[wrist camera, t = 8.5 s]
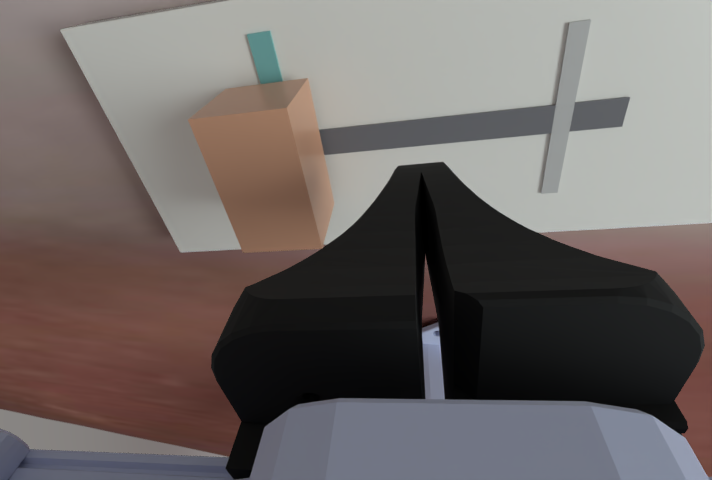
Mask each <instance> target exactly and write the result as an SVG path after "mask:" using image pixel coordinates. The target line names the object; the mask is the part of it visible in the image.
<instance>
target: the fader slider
mask: <svg viewBox="0 0 712 480" xmlns="http://www.w3.org/2000/svg"><path fill="white" fill-rule="evenodd" d="M188 122H189V124H190V126H191V129H192V131H193V134H194V136H195V138H196V141H197V143H198V146H199V148H200V150H201V153H202V155H203V158H204V160H205V162H206V165H207V167H208V170H209V172H210V174H211V177H212V179H213V182H214V184H215V186H216V189H217V191H218V194H219V196H220V198H221V201H222V203H223V206H224V208H225V211H226V213H227V215H228V218H229V220H230V223H231V225H232V227H233V230H234V232H235V235H236V237H237V239H238V242H239V244H240V247H241V249H242V251H243V253H251V252H270V251H288V250H307V249H322V248H323V245H324V241H325V237H326V233H327V230H328V226H329V222H330V218H331V215H332V211H333V207H334V199H333V194H332V189H331V185H330V180H329V175H328V170H327V166H326V161H325V156H324V151H323V147H322V142H321V137H320V132H319V128H318V123H317V118H316V113H315V109H314V104H313V99H312V94H311V90H310V85H309V80H308V78H305V79H297V80H289V81H282V82H274V83H266V84H259V85H251V86H244V87H236V88H228V89H225V90H224V91H222V92H221V93H220V94H219V95H217V96H216V97H215V98H214V99H213V100H211V101H210V102H209V103H208V104H206V105H205V106H204V107H203V108H201V109H200V110H199V111H198V112H197V113H195V114H194V115H193V116H192V117H190V118H189V119H188Z"/></svg>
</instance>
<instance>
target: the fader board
mask: <svg viewBox="0 0 712 480" xmlns="http://www.w3.org/2000/svg"><path fill="white" fill-rule="evenodd" d="M60 31H61V33H62V34H63V36H64V38H65V40H66V42H67V44H68V46H69V47H70V49H71V51H72V53H73V55H74V57H75V58H76V60H77V62H78V64H79V66H80V68H81V70H82V71H83V73H84V75H85V77H86V79H87V81H88V82H89V84H90V86H91V88H92V90H93V92H94V94H95V95H96V97H97V99H98V101H99V103H100V105H101V106H102V108H103V110H104V112H105V114H106V116H107V118H108V119H109V121H110V123H111V125H112V127H113V129H114V131H115V132H116V134H117V136H118V138H119V140H120V142H121V143H122V145H123V147H124V149H125V151H126V153H127V155H128V156H129V158H130V160H131V162H132V164H133V166H134V167H135V169H136V171H137V173H138V175H139V177H140V179H141V180H142V182H143V184H144V186H145V188H146V190H147V191H148V193H149V195H150V197H151V199H152V201H153V203H154V204H155V206H156V208H157V210H158V212H159V214H160V215H161V217H162V219H163V221H164V223H165V225H166V227H167V228H168V230H169V232H170V234H171V236H172V238H173V239H174V241H175V243H176V245H177V247H178V249H179V251H180V252H198V251H216V250H234V249H241V247H240V244H239V242H238V239H237V237H236V235H235V232H234V230H233V227H232V225H231V223H230V220H229V218H228V215H227V213H226V211H225V208H224V206H223V203H222V201H221V198H220V196H219V194H218V191H217V189H216V186H215V184H214V182H213V179H212V177H211V174H210V172H209V170H208V167H207V165H206V162H205V160H204V158H203V155H202V153H201V150H200V148H199V146H198V143H197V141H196V138H195V136H194V134H193V131H192V129H191V126H190V124H189V122H188V119H189V118H190V117H192V116H193V115H194V114H195V113H197V112H198V111H199V110H200V109H201V108H203V107H204V106H205V105H206V104H208V103H209V102H210V101H211V100H213V99H214V98H215V97H216V96H217V95H219V94H220V93H221V92H222V91H224V90H225V89H228V88H236V87H244V86H251V85H259V84H266V83H274V82H282V81H289V80H297V79H305V78H308V80H309V85H310V90H311V94H312V99H313V104H314V109H315V113H316V118H317V123H318V128H319V132H320V137H321V142H322V147H323V151H324V156H325V161H326V166H327V170H328V175H329V180H330V185H331V189H332V194H333V199H334V207H333V211H332V215H331V218H330V222H329V226H328V230H327V233H326V237H325V241H324V244H329V243H330V242H332V241H333V240H335V239H336V238H337V237H339V236H340V235H341V234H343V233H344V232H345V231H346V230H347V229H348V228H350V227H351V226H352V225H353V224H354V223H355V222H356V221H357V220H358V219H359V218H360V217H361V216H362V215H363V214H364V212H365V211H366V210H367V209H368V208H369V207H370V205H371V204H372V203H373V202H374V201H375V199H376V198H377V197H378V195H379V194H380V192H381V191H382V190H383V188H384V187H385V185H386V184H387V182H388V181H389V179H390V177H391V176H392V174H393V172H394V170H395V169H396V168H397V167H398V166H400V165H411V164H423V163H434V162H444V163H445V164H446V165H447V166H448V167H449V168H450V169H451V170H452V172H453V173H454V174H455V175H456V176H457V177H458V178H459V179H460V180H461V181H462V182H463V183H464V184H465V185H466V186H467V187H468V188H469V189H470V190H471V191H473V192H474V193H475V194H476V195H477V196H478V197H479V198H481V199H482V200H483V201H485V202H486V203H487V204H489V205H490V206H491V207H493V208H494V209H496V210H497V211H499V212H500V213H502V214H503V215H505V216H507V217H509V218H510V219H512V220H514V221H515V222H517V223H519V224H521V225H523V226H524V227H526V228H528V229H530V230H533V231H535V232H537V233H539V232H557V231H575V230H593V229H611V228H629V227H647V226H665V225H683V224H701V223H712V0H216V1H210V2H204V3H198V4H193V5H187V6H181V7H175V8H169V9H164V10H158V11H152V12H146V13H141V14H135V15H129V16H123V17H117V18H112V19H106V20H100V21H94V22H89V23H84V24H80V25H76V26H72V27H68V28H64V29H60Z"/></svg>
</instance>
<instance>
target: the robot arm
mask: <svg viewBox="0 0 712 480" xmlns="http://www.w3.org/2000/svg"><path fill="white" fill-rule="evenodd" d="M425 254H426V260H427V265H428V270H429V275H430V281H431V286H432V291H433V296H434V302H435V307H436V312H437V318H438V322H437V323H434V324H432V325H429V326H426V327H424V328H422V306H423V287H424V268H425ZM704 346H705V344H704V336H703V330H702V328H701V327H700V326H699V324H698V323H697V322H696V320H695V319H694V318H693V316H692V315H691V314H690V312H689V311H688V310H687V308H686V307H685V306H684V304H683V303H682V302H681V300H680V299H679V298H678V296H677V295H676V294H675V292H674V291H673V290H672V289H671V288H670V287H669V286H668V284H667V283H666V282H665V281H664V280H663V279H662V278H661V277H660V276H659V275H658V274H657V272H656V271H652V270H648V269H645V268H641V267H637V266H633V265H629V264H626V263H622V262H618V261H614V260H611V259H607V258H603V257H600V256H597V255H593V254H591V253H588V252H585V251H582V250H579V249H576V248H573V247H570V246H567V245H565V244H562V243H560V242H557V241H555V240H552V239H550V238H548V237H546V236H543V235H541V234H539V233H537V232H535V231H533V230H530V229H528V228H526V227H524V226H523V225H521V224H519V223H517V222H515V221H514V220H512V219H510V218H509V217H507V216H505V215H503V214H502V213H500V212H499V211H497V210H496V209H494V208H493V207H491V206H490V205H489V204H487V203H486V202H485V201H483V200H482V199H481V198H479V197H478V196H477V195H476V194H475V193H474V192H473V191H471V190H470V189H469V188H468V187H467V186H466V185H465V184H464V183H463V182H462V181H461V180H460V179H459V178H458V177H457V176H456V175H455V174H454V173H453V172H452V170H451V169H450V168H449V167H448V166H447V165H446V164H445V163H444V162H434V163H423V164H411V165H400V166H398V167H397V168H396V169H395V170H394V172H393V174H392V176H391V177H390V179H389V181H388V182H387V184H386V185H385V187H384V188H383V190H382V191H381V192H380V194H379V195H378V197H377V198H376V199H375V201H374V202H373V203H372V204H371V205H370V207H369V208H368V209H367V210H366V211H365V212H364V214H363V215H362V216H361V217H360V218H359V219H358V220H357V221H356V222H355V223H354V224H353V225H352V226H351V227H350V228H348V229H347V230H346V231H345V232H344V233H343V234H341V235H340V236H339V237H337V238H336V239H335V240H333V241H332V242H330V243H329V244H328V245H326V246H325V247H324V248H322V249H321V250H319V251H318V252H316V253H314V254H313V255H311V256H310V257H308V258H306V259H305V260H303V261H301V262H299V263H297V264H295V265H294V266H292V267H290V268H288V269H286V270H284V271H282V272H280V273H278V274H275V275H273V276H271V277H269V278H266V279H264V280H262V281H260V282H257V283H255V284H253V285H250V286H248V287H245V289H244V291H243V293H242V294H241V296H240V298H239V300H238V301H237V303H236V305H235V306H234V308H233V311H232V313H231V315H230V317H229V319H228V321H227V323H226V326H225V328H224V330H223V332H222V334H221V336H220V338H219V341H218V343H217V345H216V347H215V349H214V351H213V353H212V364H211V368H212V371H213V373H214V375H215V378H216V380H217V382H218V384H219V385H220V387H221V389H222V390H223V392H224V393H225V395H226V397H227V398H228V400H229V402H230V403H231V405H232V406H233V408H234V410H235V411H236V413H237V415H238V416H239V418H240V419H241V421H242V422H241V425H240V427H239V430H238V433H237V436H236V439H235V442H234V445H233V448H232V451H231V454H230V457H207V456H182V455H181V456H180V455H158V454H157V455H156V454H133V453H109V452H85V451H60V450H34V449H29V446H28V445H27V444H26V443H25V442H24V441H22V440H21V439H20V438H19V437H17V436H16V435H14V434H12V433H10V432H8V431H5V430H2V429H0V480H712V477H708V476H707V475H706V473H705V471H704V469H703V468H702V466H701V464H700V462H699V461H698V459H697V457H696V456H695V454H694V452H693V450H692V449H691V447H690V445H689V443H688V442H687V440H686V438H685V437H683V436H682V434H681V433H685V432H686V431H687V429H688V426H687V421H686V419H685V418H684V416H683V414H682V413H681V411H680V409H679V408H678V406H677V404H676V403H675V401H674V400H675V398H676V397H677V395H678V394H679V392H680V391H681V389H682V387H683V386H684V384H685V383H686V381H687V379H688V378H689V376H690V375H691V373H692V371H693V370H694V368H695V367H696V365H697V363H698V362H699V359H700V357H701V354H702V351H703V349H704Z"/></svg>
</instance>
